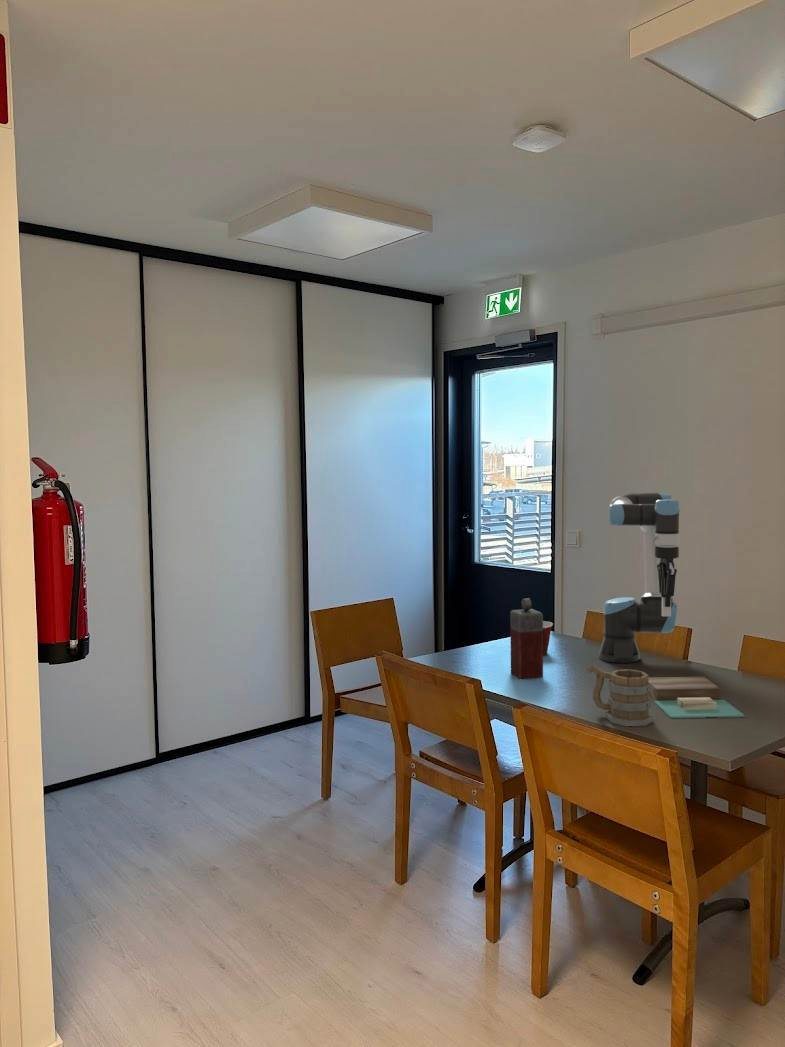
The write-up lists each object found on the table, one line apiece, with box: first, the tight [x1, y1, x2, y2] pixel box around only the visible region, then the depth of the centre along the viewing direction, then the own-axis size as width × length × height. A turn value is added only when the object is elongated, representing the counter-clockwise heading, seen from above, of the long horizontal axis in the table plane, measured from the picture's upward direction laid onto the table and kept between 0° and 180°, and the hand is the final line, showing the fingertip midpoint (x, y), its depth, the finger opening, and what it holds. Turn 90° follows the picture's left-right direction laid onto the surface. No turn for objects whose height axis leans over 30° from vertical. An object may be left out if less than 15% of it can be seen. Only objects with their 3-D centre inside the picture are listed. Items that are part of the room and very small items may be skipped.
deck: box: [648, 676, 721, 701], centre depth 267 cm, size 14×20×4 cm
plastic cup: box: [543, 620, 554, 652], centre depth 327 cm, size 11×11×12 cm
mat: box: [653, 699, 746, 719], centre depth 252 cm, size 16×22×1 cm
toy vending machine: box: [509, 597, 548, 680], centre depth 294 cm, size 9×11×28 cm
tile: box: [677, 697, 717, 710], centre depth 253 cm, size 6×10×2 cm, turn 89°
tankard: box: [585, 664, 654, 728], centre depth 245 cm, size 20×13×15 cm, turn 48°
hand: (666, 615), depth 275 cm, fingers closed
